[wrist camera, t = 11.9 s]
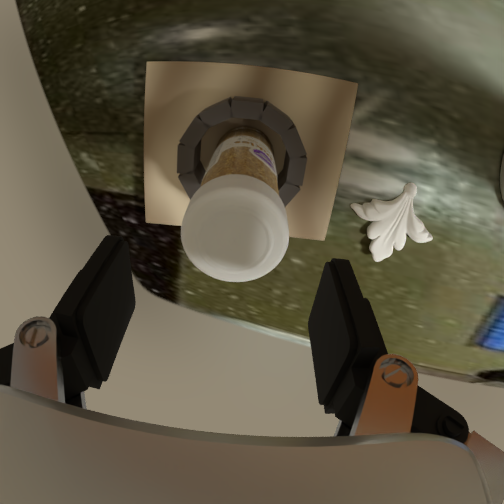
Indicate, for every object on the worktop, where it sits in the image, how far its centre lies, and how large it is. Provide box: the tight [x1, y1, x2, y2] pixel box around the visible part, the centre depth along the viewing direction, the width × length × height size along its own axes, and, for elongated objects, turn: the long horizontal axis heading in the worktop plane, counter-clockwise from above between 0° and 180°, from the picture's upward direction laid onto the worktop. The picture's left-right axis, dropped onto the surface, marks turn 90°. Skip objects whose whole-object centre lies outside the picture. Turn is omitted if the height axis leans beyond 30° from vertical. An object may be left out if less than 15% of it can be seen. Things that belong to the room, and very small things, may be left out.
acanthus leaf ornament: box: [350, 183, 433, 262], centre depth 29 cm, size 8×7×2 cm
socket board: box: [144, 61, 358, 241], centre depth 24 cm, size 16×14×4 cm
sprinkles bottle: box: [181, 126, 289, 282], centre depth 19 cm, size 5×5×13 cm
